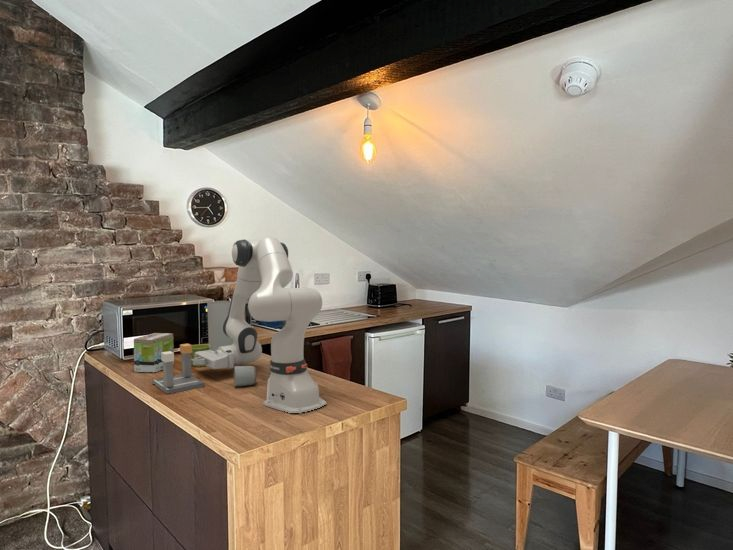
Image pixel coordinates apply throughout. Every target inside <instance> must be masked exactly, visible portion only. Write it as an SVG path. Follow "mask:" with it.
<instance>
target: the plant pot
mask: <svg viewBox="0 0 733 550" xmlns="http://www.w3.org/2000/svg"><path fill="white" fill-rule="evenodd" d="M191 345H192V353H191V359H195V352H198V351H207V350H209V347H210V345H209V344H206V343H205V344H201V343H199V344H191ZM200 366H201V367H205V366H206V365H204V364H203V365H200V364H197V365H193V364H192V367H197V368H200Z"/></svg>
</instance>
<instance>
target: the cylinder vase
mask: <svg viewBox="0 0 733 550" xmlns="http://www.w3.org/2000/svg"><path fill="white" fill-rule="evenodd" d="M230 303H231V300H216V301H209V302H207V304H206V305H207V307H206V308H207V332H208V333H207V334H208V345H210V347H209V350H212V351H216V350H217V349H218V347H222V346H228V345H232V344H233V340H232V339H231V338H229V337H228V336H226V335H225V334H224V332H223V324H224V322H225V320H226V318H227V316H228V313H229V308H230Z"/></svg>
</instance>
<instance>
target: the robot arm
mask: <svg viewBox="0 0 733 550" xmlns="http://www.w3.org/2000/svg"><path fill="white" fill-rule="evenodd" d="M231 257H232V261H233V263H234V264H235V266H238V269H237V274H236V282H235V287H234V289H233V291H232V294H231V300H230V301H231V303H230V308H229V313H228V316H227V318H226V320H225V322H224V324H223V332H224V334H225V335H226V336H228V337H229V338H231V339H232V340H233V344H232V345H228V346H222V347H218V349H217V350H216V351H212V350H207V351H198V352H195V359H192V358H191V365H192V366H193V365H197V364H200V365H203V364H204V365H205V366H206V367H207V368H208V367H209V368H210V369H212V370H217V369H218V370H219V369H221V370H222V369H234V367H235V366H236V365H244V364H249V363H252V362H255V361H257V360H259V359H260V358H261V356H262V353H263V347H262V345H261V343H260V342H259V340H258V332H257V330H256V329H255V328H254V326H252V325H251V324H249V323H248V322H247V321H246V320H245V317H244V312H245V307H246V304H248V305H247V307H248V309H247V310H248V312H249V314H250V316H251V318H252V319H254V321H259V322H266V323H267V322H269V323H271V322H281V321H282V322H284V321H286V322H285V325H284V326H283V327H282V328H281V329H280V330H277V332H275V334H273V336H272V338H271V339H270V354H271V359H270V360H269V370H270V375H269V377H268V379H267V386H266V387H267V388H266V400H264V401H263V406H265V407H268V408H272V409H273V410H279V411H281V412H284V411H285V413H287V412H288V414H290V413H299V414H303V413H302V412H305V413H308V412H307V411H310V412H312V411H311V410H313V411H315V410H314V409H317V408H320V407H322V406H324V405H325V404H326V403H327V401H326V400H324V399H323V398H322V397H321V396H320V390H319V384H318V382H317V381H314V379H313V378H312V377H311V375H310V374H309V372H308V370H307V369H308V363H306V360H305V358H304V345H305V343H304V342H305V335H306V331H307V329H308V327H309V325H310V323H311V322H312V321H313V320H314V318H315V317H317V316H318V315H319V314H320V312H321V311H322V307H323V298H322V296H321V294H320V291H318V290H317V289H316V288H309V287H291V288H290V287H289V288H286V287H287V286H288V285H289V284H290V283H291V281H292V279H293V276H294V275H293V270H292V267H291V264H290V260H289V249H288V246H287V245H286V243H284V242H280V240H279V239H278V238H277V237H275V236H274V237H273V236H265V237H263V238H261V239H239V240H237V241H235V242H234V243H233V245H232V248H231ZM247 300H248V303H247ZM324 407H325V406H324ZM322 408H323V407H322ZM320 409H321V408H320ZM317 410H318V409H317Z"/></svg>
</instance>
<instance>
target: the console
mask: <svg viewBox="0 0 733 550" xmlns="http://www.w3.org/2000/svg"><path fill="white" fill-rule="evenodd" d="M173 381H174V386H172V387H166V386H164V377H159V378H155V379H151V384H152V383H153V384H155V385H156V386H157V387H159V388H160V389H161V390H160V389H159V388H158V389H159V390H160V391H162V390H163V391H164V392H165V393H164V392H163V391H162V392H163V393H164V394H166V393H167V394H166V395H170V394H169V393H171V394H175V393H174V392H176V393H179V392H185V390H186V391H190V390H195V389H200V388H204V387H205V385H206V384H205V382H204V381H202V380H201V379H199V378H196V377H195V376H193V375H192V376H189V377H184V376H183V375H182V373H181V374H177V375H173ZM153 384H152V385H153ZM155 385H154V386H155ZM156 386H155V387H156ZM157 387H156V388H157Z"/></svg>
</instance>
